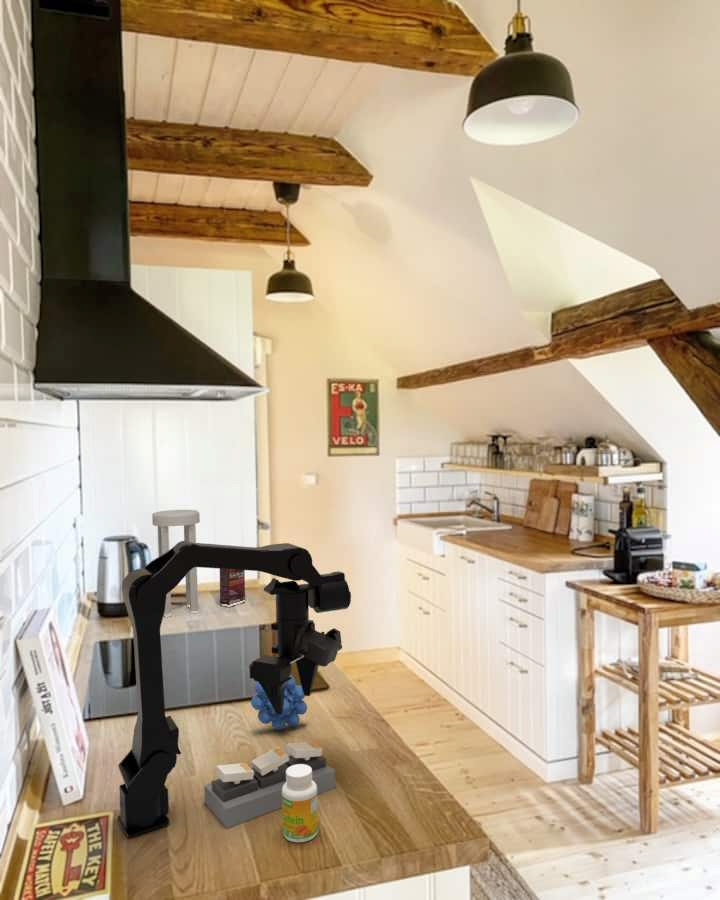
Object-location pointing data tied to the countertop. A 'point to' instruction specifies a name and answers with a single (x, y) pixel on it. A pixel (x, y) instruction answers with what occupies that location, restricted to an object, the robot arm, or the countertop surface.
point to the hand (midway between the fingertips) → (293, 704)
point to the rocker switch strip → (261, 791)
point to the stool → (188, 521)
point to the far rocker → (303, 750)
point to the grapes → (290, 709)
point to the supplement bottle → (299, 804)
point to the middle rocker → (270, 761)
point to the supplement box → (232, 586)
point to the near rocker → (234, 772)
